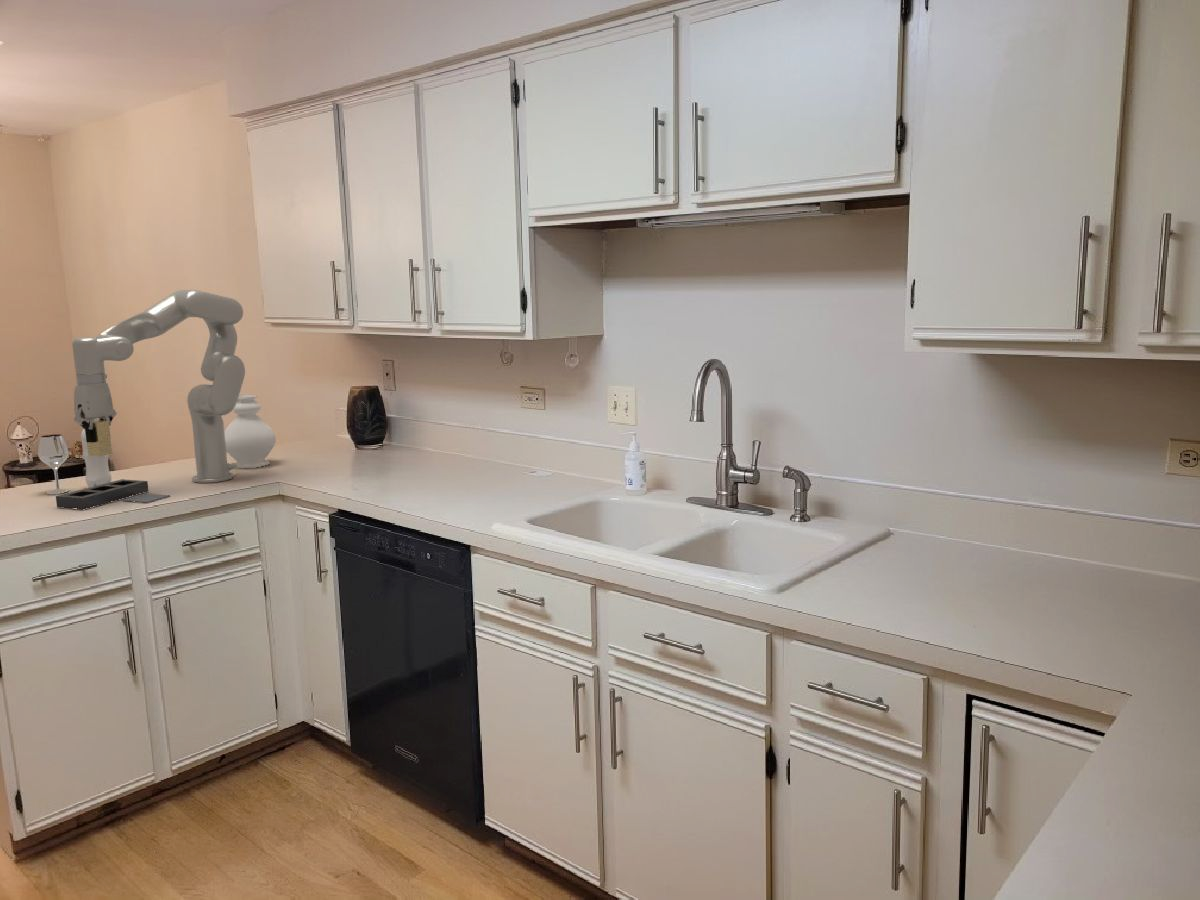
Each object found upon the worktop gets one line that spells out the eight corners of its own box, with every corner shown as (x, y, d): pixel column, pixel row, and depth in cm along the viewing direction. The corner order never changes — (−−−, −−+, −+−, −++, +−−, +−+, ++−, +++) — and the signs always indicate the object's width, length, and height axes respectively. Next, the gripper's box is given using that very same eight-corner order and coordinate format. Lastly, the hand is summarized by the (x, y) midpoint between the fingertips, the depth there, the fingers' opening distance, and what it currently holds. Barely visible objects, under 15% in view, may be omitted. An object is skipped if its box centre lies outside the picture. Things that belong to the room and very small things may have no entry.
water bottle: (101, 490, 281) (92, 412, 276) (81, 489, 282) (72, 411, 278) (117, 485, 288) (109, 409, 283) (98, 484, 289) (89, 408, 285)
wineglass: (46, 490, 281) (39, 434, 278) (75, 488, 284) (69, 433, 280) (40, 496, 273) (33, 438, 270) (70, 494, 276) (63, 436, 273)
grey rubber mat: (146, 494, 274) (146, 493, 274) (170, 496, 271) (169, 495, 271) (122, 501, 265) (122, 499, 265) (147, 503, 263) (147, 501, 263)
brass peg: (100, 452, 269) (96, 420, 267) (112, 453, 267) (108, 420, 265) (88, 455, 264) (84, 422, 263) (100, 456, 263) (96, 422, 261)
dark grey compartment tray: (123, 490, 281) (122, 479, 280) (148, 491, 278) (147, 481, 277) (57, 507, 258) (55, 496, 258) (84, 510, 255) (82, 498, 255)
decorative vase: (255, 471, 308) (249, 399, 304) (213, 468, 314) (206, 398, 309) (287, 461, 325) (282, 393, 321) (247, 459, 331) (241, 392, 326)
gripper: (104, 376, 271) (111, 435, 274) (56, 382, 255) (64, 445, 258) (124, 377, 269) (131, 436, 272) (76, 383, 253) (84, 446, 256)
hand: (98, 440), depth 265 cm, fingers closed on brass peg, 4 cm apart
